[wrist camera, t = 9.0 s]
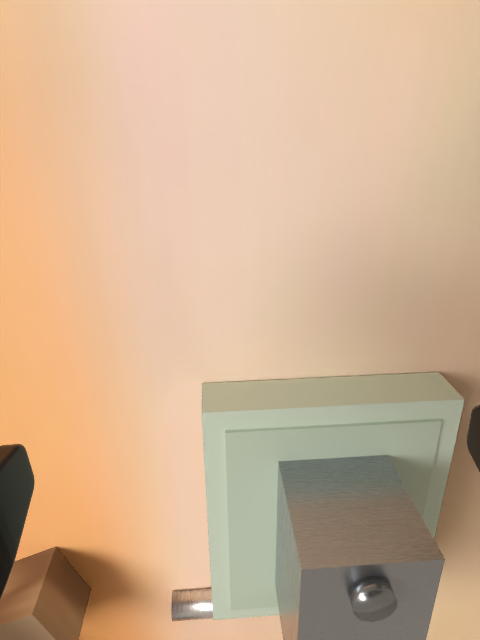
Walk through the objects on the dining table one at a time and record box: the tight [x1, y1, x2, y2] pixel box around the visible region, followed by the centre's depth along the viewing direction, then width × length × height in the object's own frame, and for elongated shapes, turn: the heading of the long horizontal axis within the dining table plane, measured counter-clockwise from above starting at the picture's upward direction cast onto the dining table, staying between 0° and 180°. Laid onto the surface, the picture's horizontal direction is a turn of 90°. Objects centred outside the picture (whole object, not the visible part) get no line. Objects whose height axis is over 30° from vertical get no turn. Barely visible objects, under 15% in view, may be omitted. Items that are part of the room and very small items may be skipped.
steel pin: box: [172, 588, 213, 621], centre depth 28 cm, size 7×2×2 cm
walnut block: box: [0, 547, 91, 640], centre depth 25 cm, size 4×4×4 cm
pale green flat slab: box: [202, 372, 465, 620], centre depth 24 cm, size 12×14×3 cm
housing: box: [275, 455, 445, 640], centre depth 20 cm, size 5×8×6 cm, turn 1°
